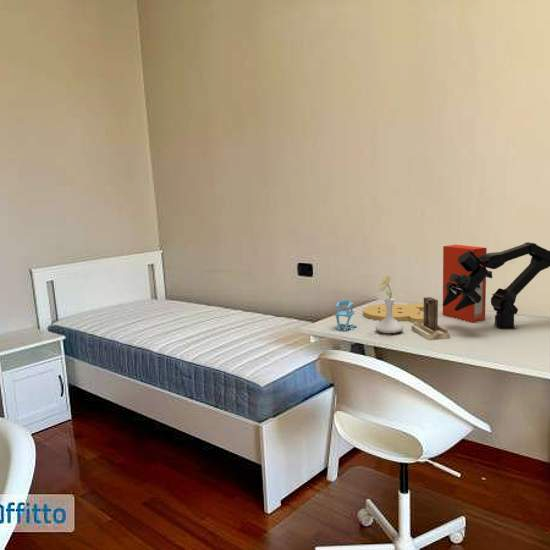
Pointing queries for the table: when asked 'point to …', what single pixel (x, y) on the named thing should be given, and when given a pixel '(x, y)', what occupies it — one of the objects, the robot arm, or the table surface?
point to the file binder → (452, 266)
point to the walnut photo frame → (431, 313)
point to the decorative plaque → (396, 312)
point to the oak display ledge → (430, 332)
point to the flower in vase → (388, 311)
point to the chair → (344, 314)
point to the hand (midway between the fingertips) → (449, 307)
